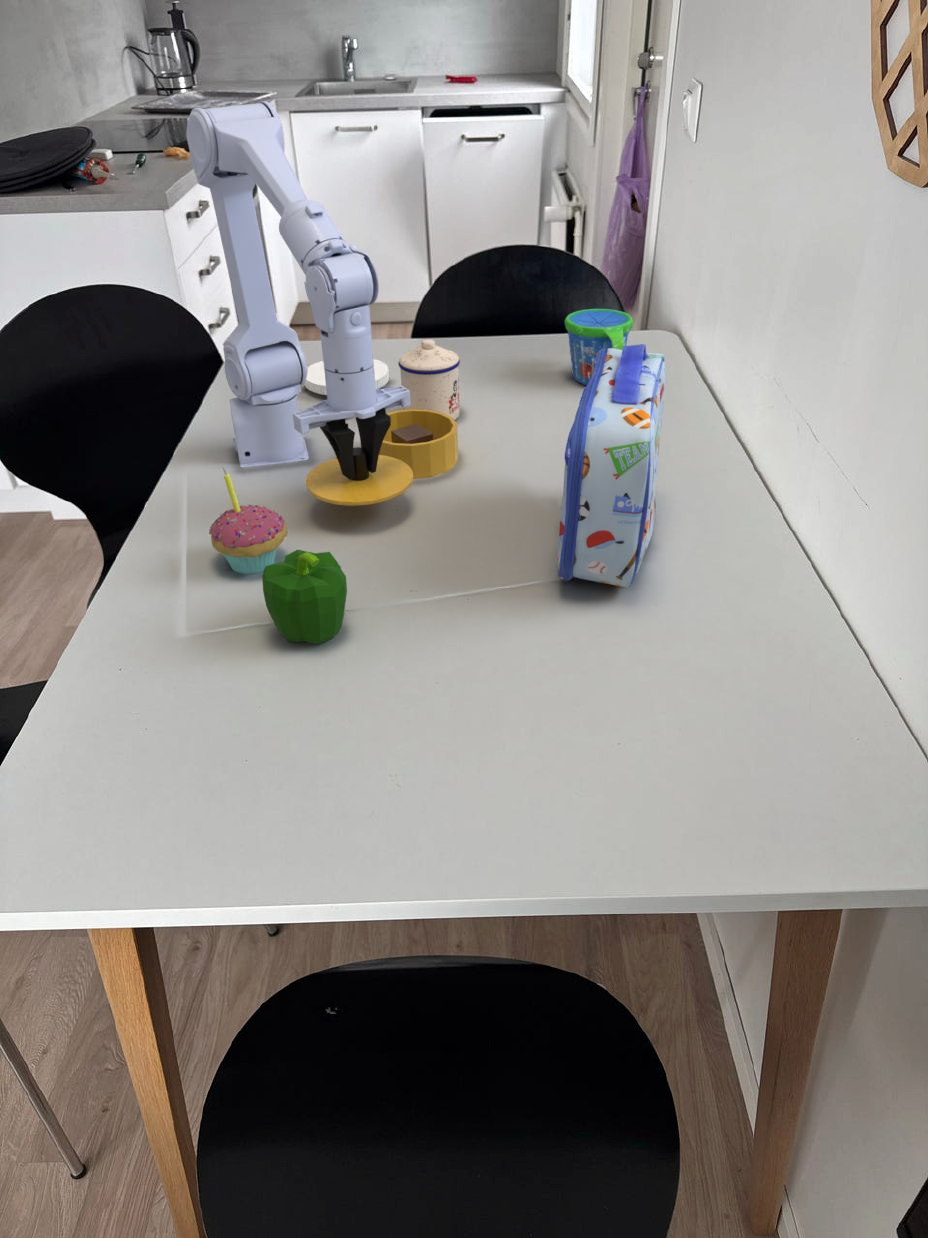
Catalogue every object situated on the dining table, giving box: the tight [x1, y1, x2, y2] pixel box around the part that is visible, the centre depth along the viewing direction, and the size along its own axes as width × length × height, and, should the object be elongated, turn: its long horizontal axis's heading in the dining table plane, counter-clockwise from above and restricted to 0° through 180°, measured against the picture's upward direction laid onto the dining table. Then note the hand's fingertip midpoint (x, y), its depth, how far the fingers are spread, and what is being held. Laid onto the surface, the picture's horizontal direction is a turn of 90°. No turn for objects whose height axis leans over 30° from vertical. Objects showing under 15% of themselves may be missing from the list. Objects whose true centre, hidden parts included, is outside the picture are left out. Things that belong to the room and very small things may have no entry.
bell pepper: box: [261, 549, 348, 645], centre depth 96 cm, size 8×8×10 cm
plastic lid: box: [303, 358, 390, 396], centre depth 156 cm, size 14×14×2 cm
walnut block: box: [391, 424, 433, 444], centre depth 130 cm, size 4×4×4 cm
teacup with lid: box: [398, 338, 461, 421], centre depth 143 cm, size 12×9×12 cm
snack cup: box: [564, 308, 634, 386], centre depth 153 cm, size 16×10×10 cm
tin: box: [379, 409, 459, 480], centre depth 130 cm, size 12×12×5 cm
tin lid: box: [305, 446, 414, 506], centre depth 116 cm, size 13×13×4 cm
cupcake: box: [208, 467, 288, 575], centre depth 106 cm, size 9×8×12 cm
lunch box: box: [557, 343, 666, 589], centre depth 106 cm, size 28×10×22 cm, turn 168°
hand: (358, 472), depth 116 cm, fingers closed on tin lid, 2 cm apart
